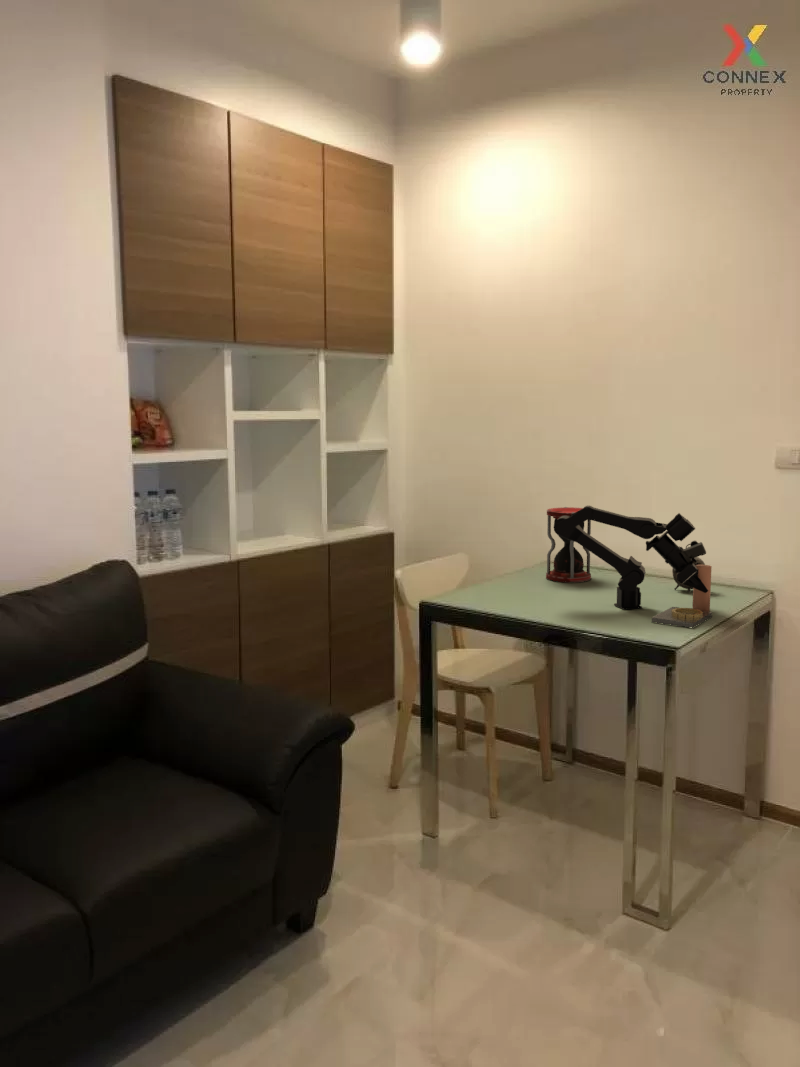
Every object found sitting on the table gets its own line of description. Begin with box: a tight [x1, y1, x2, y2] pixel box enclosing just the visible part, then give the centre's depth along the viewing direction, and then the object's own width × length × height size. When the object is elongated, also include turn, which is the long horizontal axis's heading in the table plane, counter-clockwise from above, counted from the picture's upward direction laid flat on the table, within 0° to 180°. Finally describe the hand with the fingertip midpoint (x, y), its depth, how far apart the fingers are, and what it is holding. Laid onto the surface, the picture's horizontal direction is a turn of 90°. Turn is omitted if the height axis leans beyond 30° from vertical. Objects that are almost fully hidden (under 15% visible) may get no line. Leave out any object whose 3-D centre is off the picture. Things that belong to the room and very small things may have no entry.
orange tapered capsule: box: [692, 564, 713, 612], centre depth 267 cm, size 5×5×14 cm
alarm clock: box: [671, 543, 706, 593], centre depth 294 cm, size 11×5×16 cm, turn 74°
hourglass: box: [545, 506, 592, 583], centre depth 317 cm, size 16×16×25 cm
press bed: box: [651, 606, 713, 629], centre depth 259 cm, size 16×12×2 cm
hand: (706, 588), depth 267 cm, fingers open, 8 cm apart
